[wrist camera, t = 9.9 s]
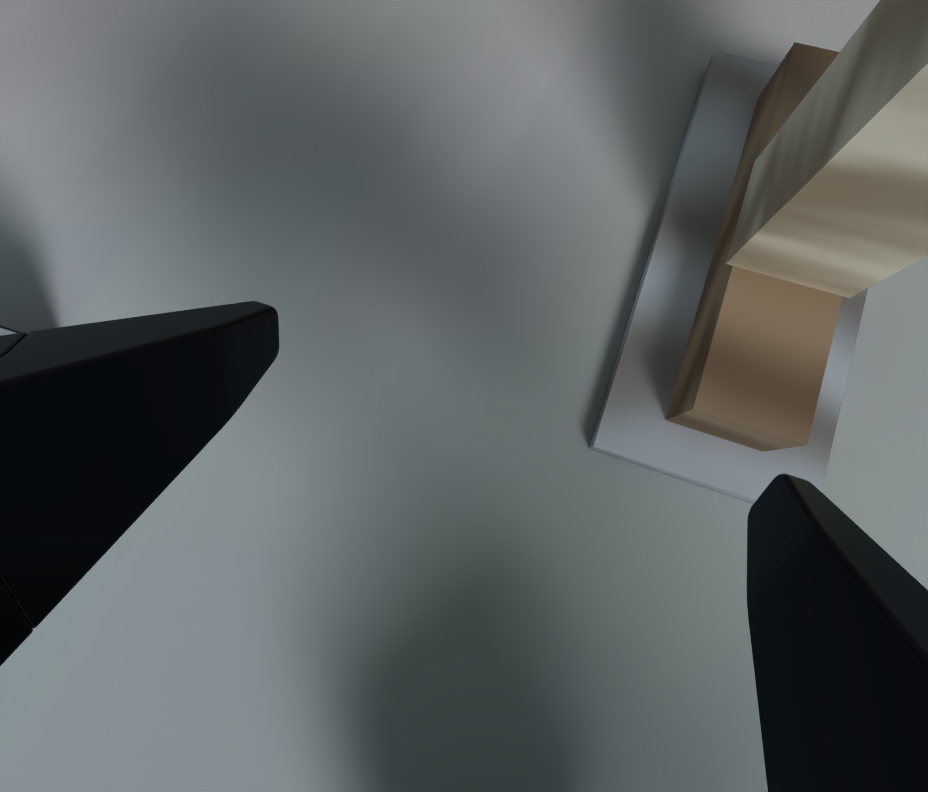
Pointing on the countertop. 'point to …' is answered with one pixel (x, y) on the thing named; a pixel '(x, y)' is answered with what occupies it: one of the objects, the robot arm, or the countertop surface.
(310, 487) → the countertop surface
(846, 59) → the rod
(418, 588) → the countertop surface
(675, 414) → the flat rectangular plate
